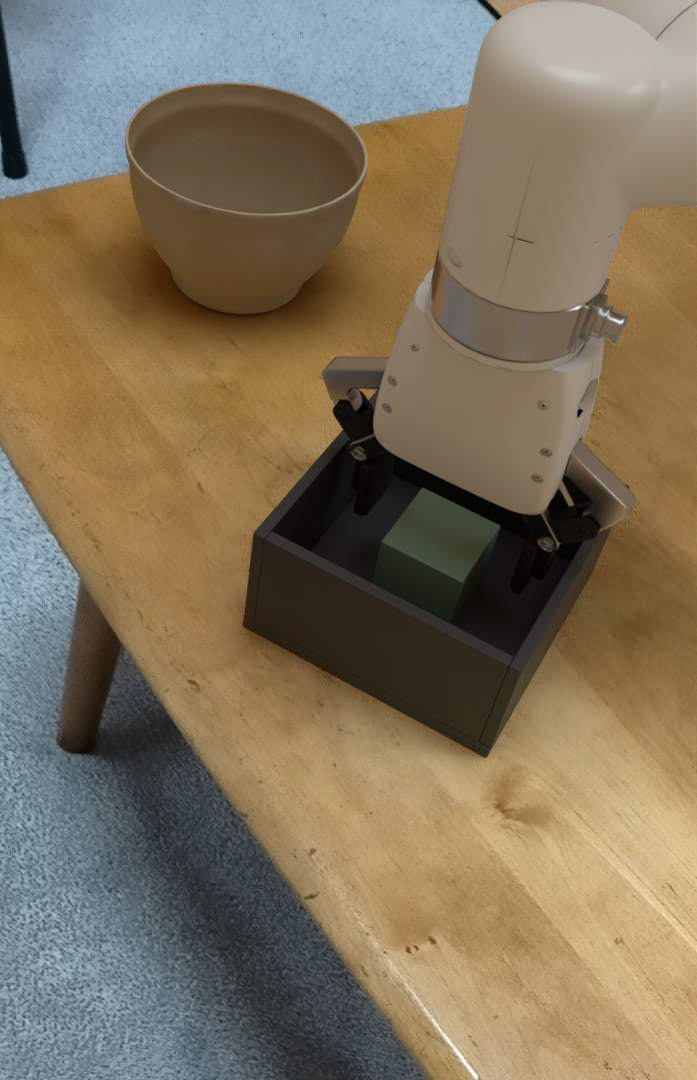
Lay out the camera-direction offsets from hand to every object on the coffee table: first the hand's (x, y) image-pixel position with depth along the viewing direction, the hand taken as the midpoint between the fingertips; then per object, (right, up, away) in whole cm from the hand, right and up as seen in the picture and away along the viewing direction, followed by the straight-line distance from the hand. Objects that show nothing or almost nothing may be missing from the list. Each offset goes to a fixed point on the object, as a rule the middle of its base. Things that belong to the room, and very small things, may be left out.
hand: (446, 537), depth 69 cm
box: (-1, -3, +3) cm, 4 cm away
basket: (-1, -4, +4) cm, 5 cm away
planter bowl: (-14, +19, +22) cm, 32 cm away
